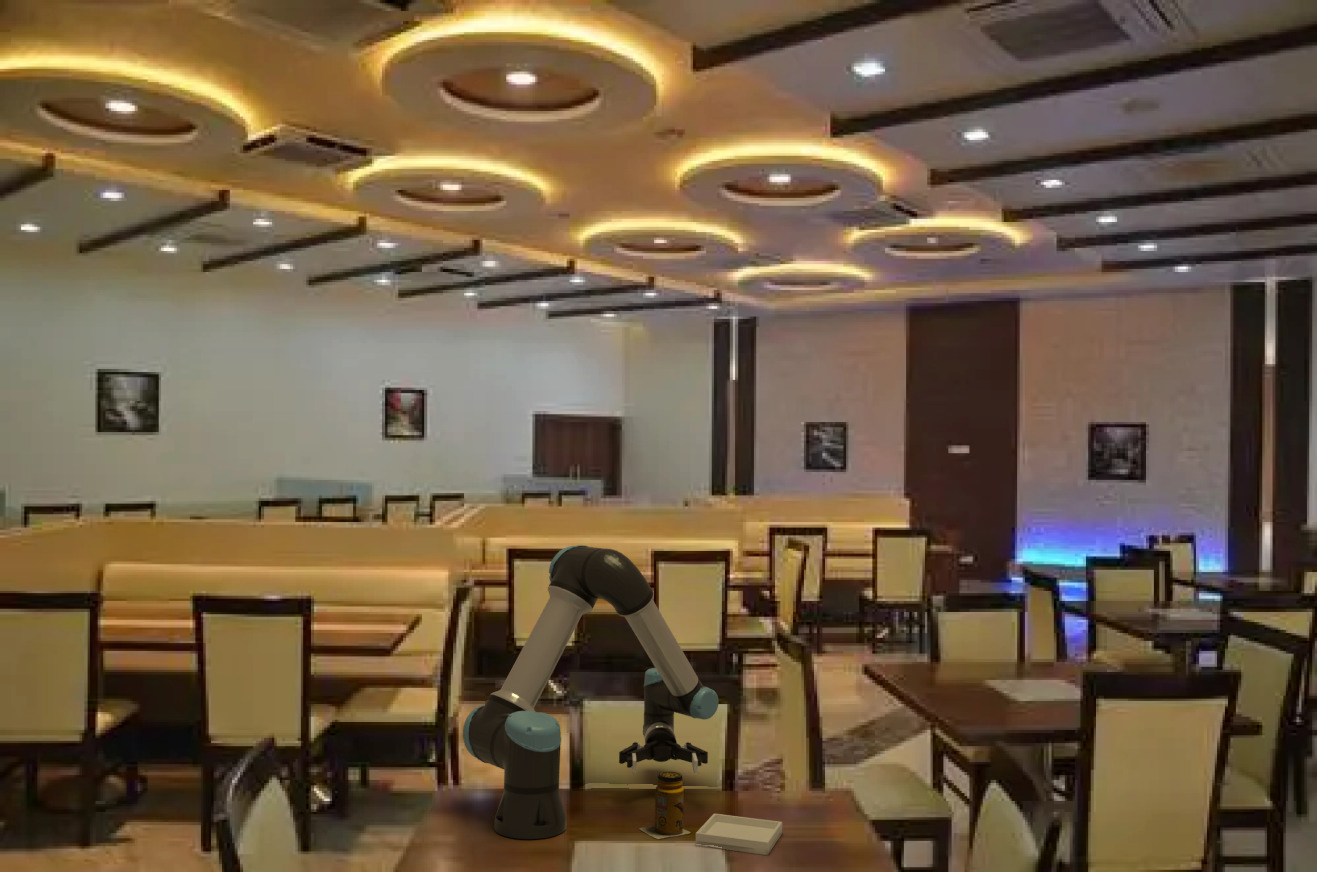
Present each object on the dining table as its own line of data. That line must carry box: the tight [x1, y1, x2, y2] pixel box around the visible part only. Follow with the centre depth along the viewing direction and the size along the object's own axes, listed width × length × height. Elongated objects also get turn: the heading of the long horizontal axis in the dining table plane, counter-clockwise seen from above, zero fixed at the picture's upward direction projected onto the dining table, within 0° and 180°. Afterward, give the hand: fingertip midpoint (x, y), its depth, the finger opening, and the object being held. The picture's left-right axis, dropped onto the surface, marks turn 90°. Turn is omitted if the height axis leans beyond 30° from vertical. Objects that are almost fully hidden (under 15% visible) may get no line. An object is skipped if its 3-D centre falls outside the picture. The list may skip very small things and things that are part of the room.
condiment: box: [638, 771, 691, 840], centre depth 233 cm, size 7×8×12 cm
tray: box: [695, 813, 783, 856], centre depth 229 cm, size 15×14×2 cm
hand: (665, 767), depth 243 cm, fingers open, 13 cm apart
